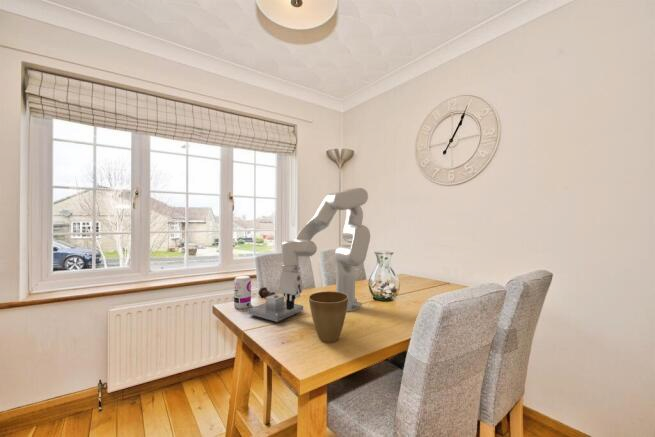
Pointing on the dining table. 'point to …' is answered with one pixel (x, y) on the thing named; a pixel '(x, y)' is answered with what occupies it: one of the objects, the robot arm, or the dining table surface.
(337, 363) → the dining table surface
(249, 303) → the supplement can
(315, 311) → the plant pot
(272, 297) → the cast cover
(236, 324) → the dining table surface
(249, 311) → the grey mounting base
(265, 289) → the bolt
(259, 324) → the dining table surface
